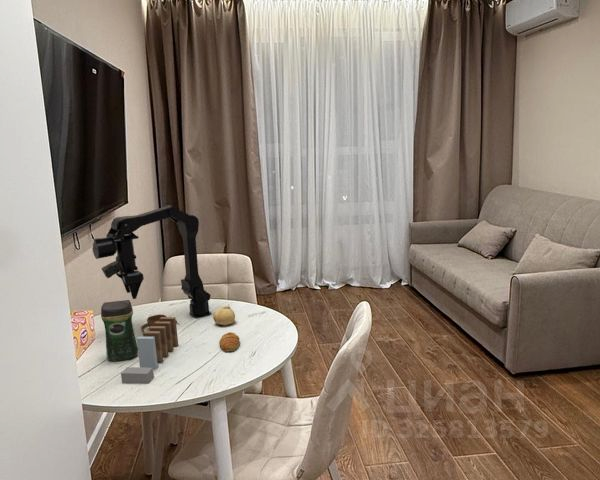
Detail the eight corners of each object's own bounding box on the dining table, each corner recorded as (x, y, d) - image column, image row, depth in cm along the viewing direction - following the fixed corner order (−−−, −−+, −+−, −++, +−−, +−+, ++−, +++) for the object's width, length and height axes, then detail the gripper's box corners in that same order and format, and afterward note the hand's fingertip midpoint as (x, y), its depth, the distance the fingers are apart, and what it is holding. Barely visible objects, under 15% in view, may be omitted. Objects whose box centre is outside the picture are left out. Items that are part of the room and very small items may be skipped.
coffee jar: (139, 349, 177) (133, 296, 174) (136, 359, 170) (130, 303, 166) (109, 353, 176) (102, 299, 172) (105, 363, 168) (97, 307, 164)
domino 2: (148, 361, 168) (144, 331, 166) (163, 361, 167) (160, 331, 165) (146, 363, 166) (142, 333, 164) (161, 363, 166) (158, 333, 164)
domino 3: (153, 355, 172) (150, 326, 170) (168, 355, 171) (165, 326, 169) (151, 357, 170) (148, 328, 168) (166, 357, 170) (163, 328, 168)
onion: (220, 329, 192) (219, 310, 191) (209, 324, 198) (208, 305, 197) (239, 323, 197) (238, 305, 195) (228, 318, 203) (227, 300, 202)
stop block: (128, 376, 158) (127, 367, 157) (154, 377, 157) (152, 367, 156) (122, 382, 154) (120, 373, 153) (148, 383, 153) (147, 373, 152)
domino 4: (164, 345, 180) (161, 317, 178) (178, 345, 179) (175, 317, 177) (162, 347, 179) (159, 318, 177) (176, 347, 178) (173, 318, 176)
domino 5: (159, 350, 176) (156, 321, 174) (173, 350, 175) (170, 321, 173) (157, 352, 175) (153, 323, 173) (171, 352, 174) (168, 323, 172)
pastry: (240, 352, 172) (239, 341, 171) (219, 354, 171) (218, 343, 170) (239, 341, 181) (238, 330, 180) (219, 343, 180) (218, 332, 179)
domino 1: (142, 367, 164) (138, 336, 162) (158, 367, 163) (154, 336, 161) (140, 369, 162) (136, 338, 160) (155, 369, 161) (152, 338, 159)
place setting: (141, 341, 186) (139, 325, 185) (119, 327, 201) (117, 312, 200) (186, 327, 197) (185, 312, 196) (162, 315, 212) (161, 301, 211)
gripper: (96, 252, 191) (103, 294, 194) (106, 262, 175) (113, 307, 178) (128, 247, 196) (134, 287, 199) (141, 256, 180) (146, 300, 183)
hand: (131, 295), depth 190 cm, fingers open, 9 cm apart
